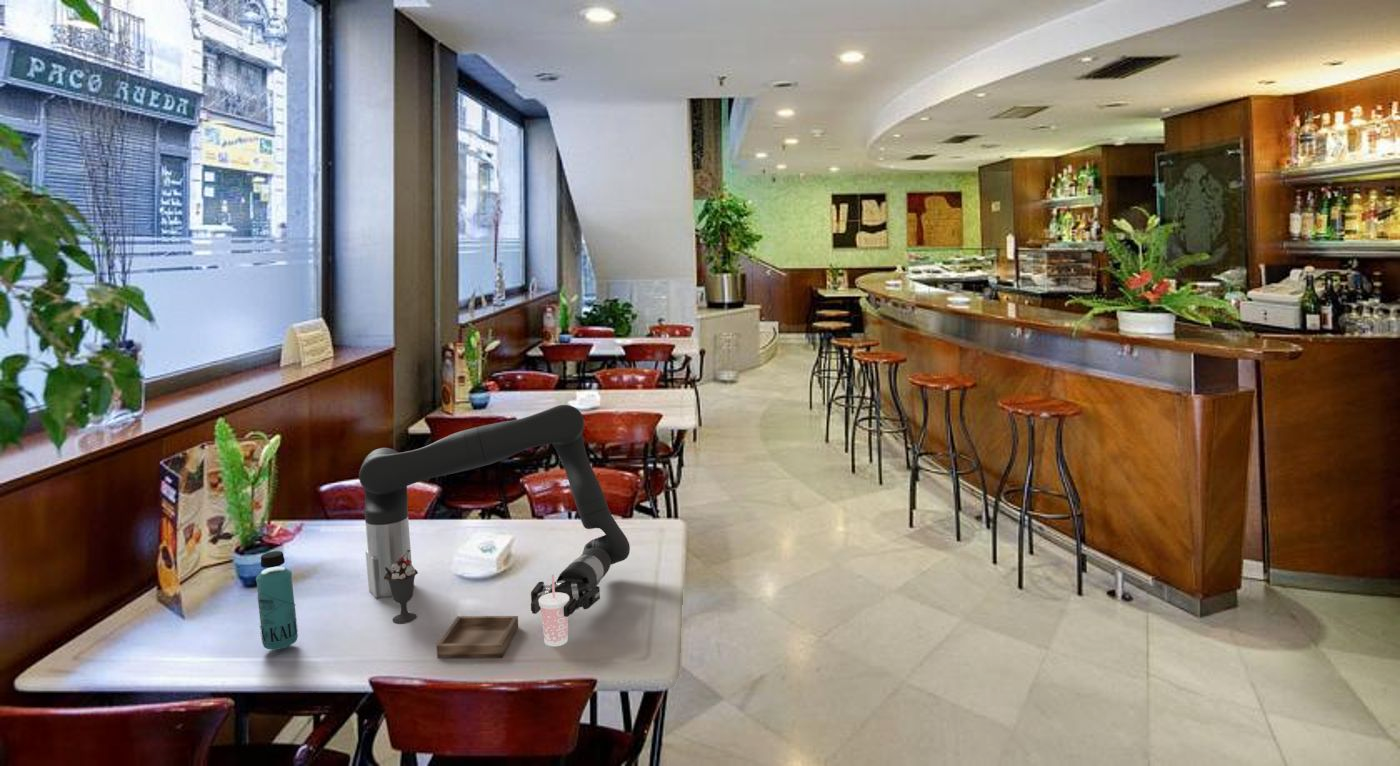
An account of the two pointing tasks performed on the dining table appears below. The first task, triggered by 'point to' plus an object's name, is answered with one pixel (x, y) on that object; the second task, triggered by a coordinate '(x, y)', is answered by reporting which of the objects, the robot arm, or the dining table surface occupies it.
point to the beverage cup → (554, 617)
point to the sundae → (402, 587)
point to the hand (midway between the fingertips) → (549, 610)
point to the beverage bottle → (276, 602)
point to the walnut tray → (478, 637)
